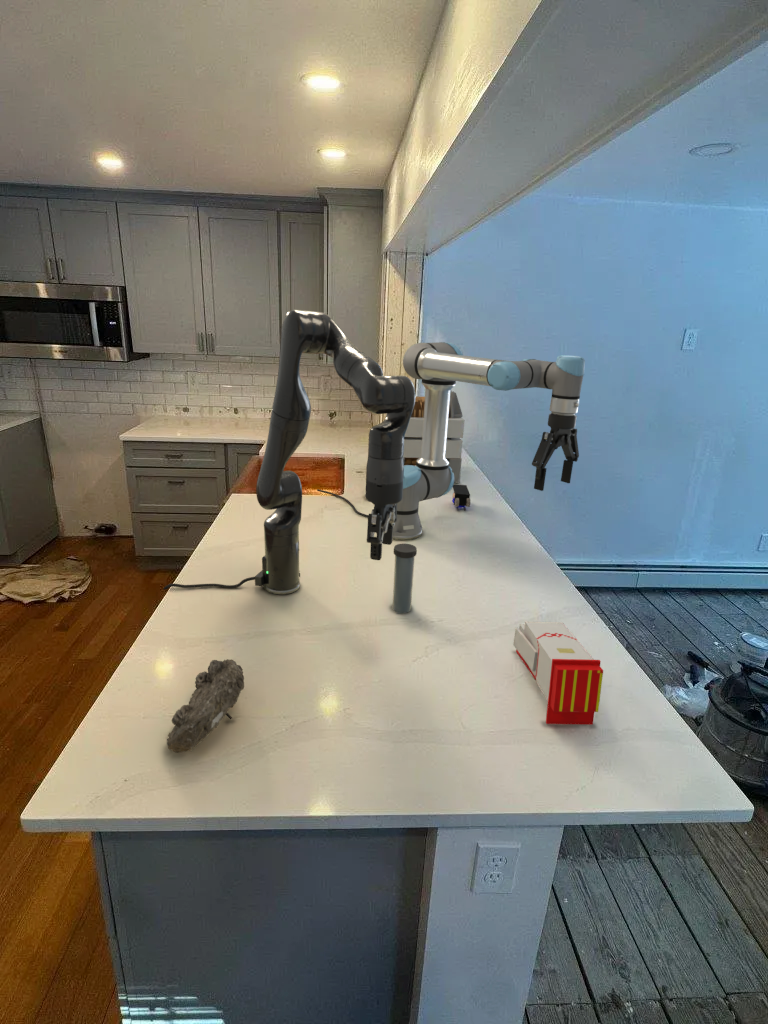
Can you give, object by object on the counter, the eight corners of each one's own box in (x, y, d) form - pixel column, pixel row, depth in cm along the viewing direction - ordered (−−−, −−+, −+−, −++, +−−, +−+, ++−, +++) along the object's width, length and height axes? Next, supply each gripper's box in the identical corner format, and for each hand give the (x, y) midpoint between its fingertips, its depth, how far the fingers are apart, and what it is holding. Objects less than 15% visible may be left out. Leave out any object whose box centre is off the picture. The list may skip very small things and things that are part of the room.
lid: (389, 550, 146) (389, 545, 146) (409, 547, 149) (410, 542, 148) (399, 559, 141) (400, 553, 141) (420, 556, 144) (420, 550, 143)
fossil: (192, 660, 117) (244, 628, 112) (224, 691, 120) (276, 661, 115) (142, 746, 98) (202, 712, 93) (182, 779, 101) (242, 748, 96)
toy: (559, 606, 135) (612, 666, 105) (553, 658, 137) (604, 731, 108) (508, 605, 134) (547, 665, 105) (504, 658, 137) (541, 730, 108)
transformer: (382, 463, 289) (386, 382, 275) (445, 464, 293) (451, 384, 279) (390, 482, 257) (394, 392, 243) (460, 483, 261) (468, 394, 247)
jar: (389, 605, 151) (392, 547, 146) (405, 602, 153) (409, 544, 148) (397, 614, 147) (400, 554, 141) (414, 611, 149) (418, 551, 143)
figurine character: (470, 515, 225) (465, 499, 238) (472, 498, 221) (467, 483, 235) (453, 515, 224) (449, 499, 238) (455, 497, 221) (451, 482, 234)
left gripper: (376, 466, 121) (374, 536, 127) (355, 484, 108) (353, 562, 114) (410, 470, 119) (406, 541, 125) (393, 489, 106) (389, 567, 112)
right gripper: (548, 419, 148) (537, 496, 155) (598, 411, 163) (586, 482, 171) (525, 414, 153) (515, 489, 160) (575, 407, 169) (564, 476, 176)
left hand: (381, 551), depth 119 cm, fingers open, 8 cm apart
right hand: (552, 485), depth 166 cm, fingers open, 13 cm apart
